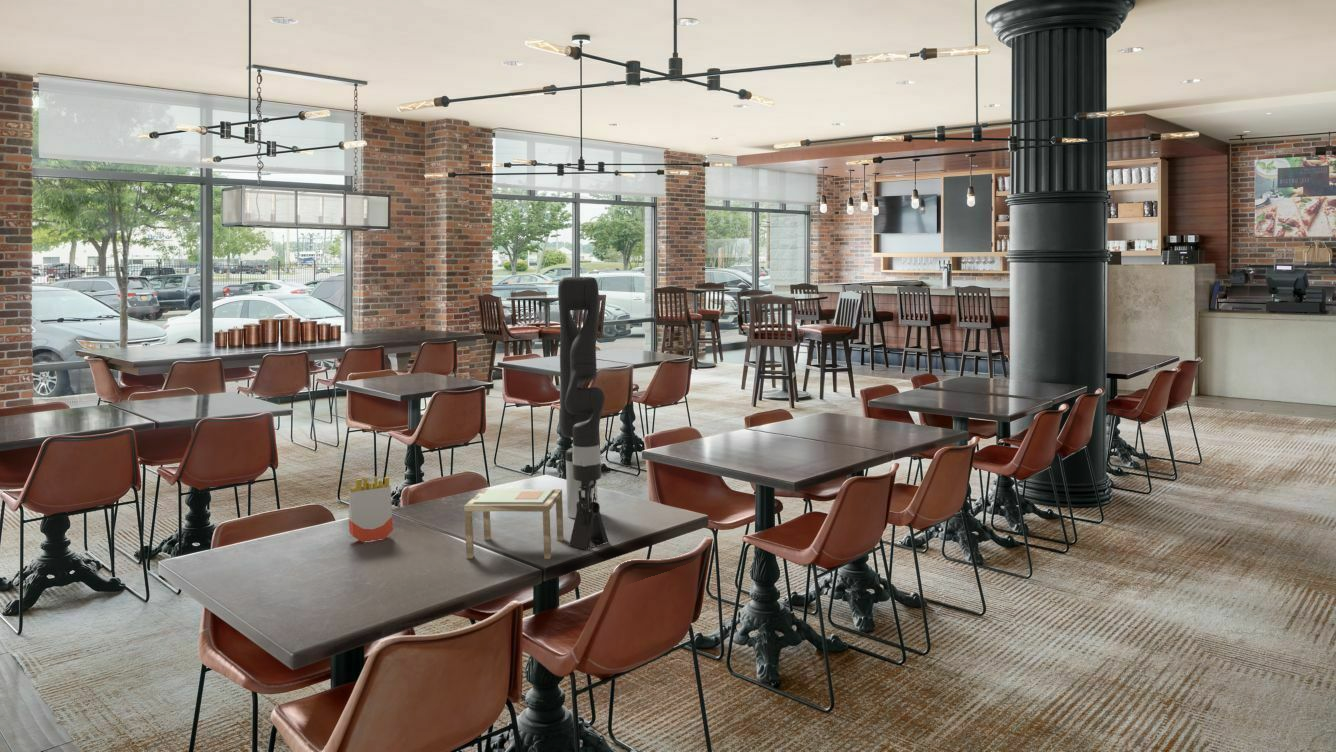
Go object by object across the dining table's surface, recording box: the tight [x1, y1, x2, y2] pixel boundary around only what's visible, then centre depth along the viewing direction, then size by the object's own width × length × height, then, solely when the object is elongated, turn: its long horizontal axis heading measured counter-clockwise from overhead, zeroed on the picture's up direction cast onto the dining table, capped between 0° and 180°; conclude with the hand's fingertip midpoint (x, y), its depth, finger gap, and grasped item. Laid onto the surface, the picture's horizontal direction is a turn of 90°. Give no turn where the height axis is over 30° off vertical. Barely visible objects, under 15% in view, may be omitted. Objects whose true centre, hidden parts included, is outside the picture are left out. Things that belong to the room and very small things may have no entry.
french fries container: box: [348, 476, 394, 543], centre depth 262 cm, size 5×11×18 cm, turn 121°
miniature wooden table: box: [463, 488, 564, 560], centre depth 252 cm, size 18×22×14 cm
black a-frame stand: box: [569, 500, 609, 551], centre depth 254 cm, size 9×6×12 cm, turn 138°
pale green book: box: [474, 488, 553, 504], centre depth 251 cm, size 14×18×2 cm
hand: (588, 522), depth 254 cm, fingers open, 6 cm apart
